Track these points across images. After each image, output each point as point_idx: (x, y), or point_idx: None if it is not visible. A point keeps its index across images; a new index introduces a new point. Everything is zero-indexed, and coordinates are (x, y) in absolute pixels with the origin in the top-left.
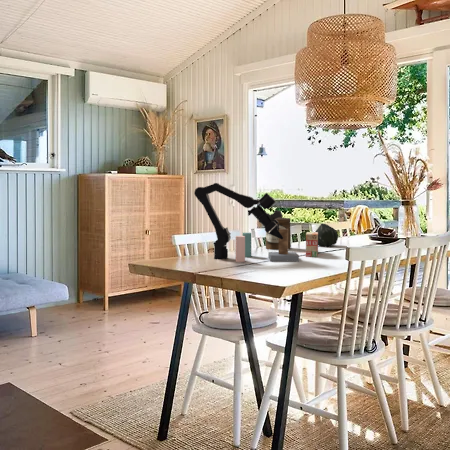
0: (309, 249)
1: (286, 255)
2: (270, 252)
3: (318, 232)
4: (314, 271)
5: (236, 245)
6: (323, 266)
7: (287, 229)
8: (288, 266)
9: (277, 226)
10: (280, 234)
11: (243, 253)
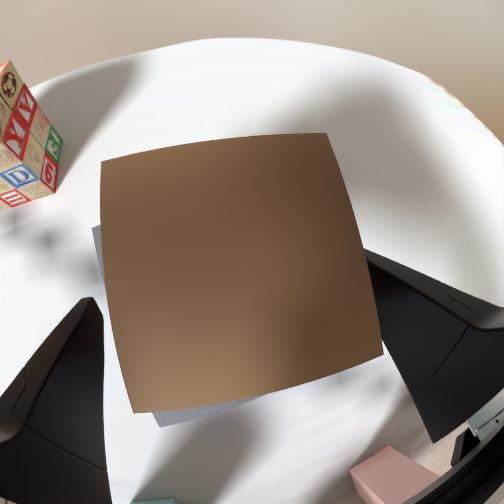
0: (37, 155)
1: None
2: (181, 409)
3: None
4: (455, 130)
5: None
6: (368, 92)
7: (303, 138)
8: (435, 211)
9: (17, 471)
10: (414, 276)
11: (413, 465)
